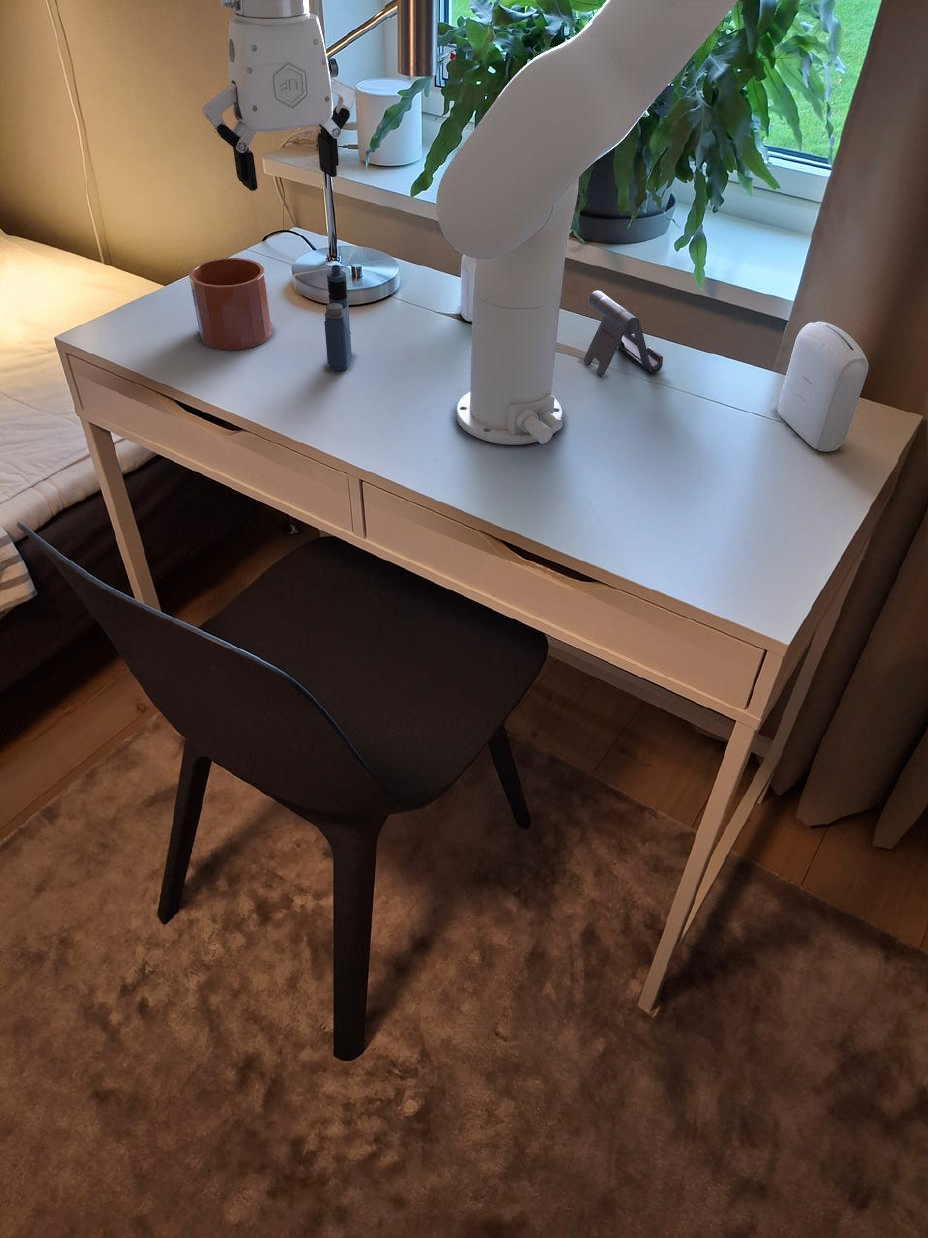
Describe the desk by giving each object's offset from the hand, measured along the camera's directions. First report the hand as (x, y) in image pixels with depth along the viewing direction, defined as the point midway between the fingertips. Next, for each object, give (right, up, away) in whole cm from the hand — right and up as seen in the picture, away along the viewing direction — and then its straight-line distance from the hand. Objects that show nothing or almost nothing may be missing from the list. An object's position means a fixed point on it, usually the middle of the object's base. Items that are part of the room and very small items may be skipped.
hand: (289, 180), depth 105 cm
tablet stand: (+40, -16, +16) cm, 46 cm away
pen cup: (-11, -11, +20) cm, 26 cm away
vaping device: (+4, -17, +15) cm, 23 cm away
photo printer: (+61, -28, +5) cm, 67 cm away
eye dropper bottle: (+22, -7, +26) cm, 35 cm away
